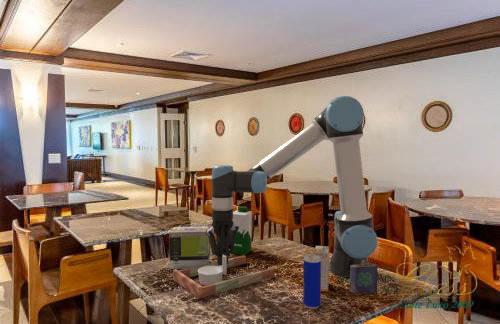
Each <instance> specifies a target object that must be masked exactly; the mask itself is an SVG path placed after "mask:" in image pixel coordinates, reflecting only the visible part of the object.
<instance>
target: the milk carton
mask: <svg viewBox="0 0 500 324" xmlns="http://www.w3.org/2000/svg"><path fill="white" fill-rule="evenodd" d="M252 217H253V212H252V211H250V210H248V207H247V206H243V205H241V206H238V210H235V211H234V210H233V219H232V220H233V223H234V225H236V226H239V229H238V231H237V234H236V239H235V244H234V249H233V252H232V253H231V254H232V255H233V254H235V255H240V256H246V255H248V253H250V252H251V251H252V220H253V219H252Z"/></svg>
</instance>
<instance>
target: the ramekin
mask: <svg viewBox="0 0 500 324" xmlns="http://www.w3.org/2000/svg"><path fill="white" fill-rule="evenodd" d="M222 273H223V269H222V268H221V267H218V266H205V267H202V268H200V269H198V274H199V275H198V282H199V285H201V286H206V285H210V284H214V283H217V282H221V281H223V275H222Z"/></svg>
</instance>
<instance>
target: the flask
mask: <svg viewBox="0 0 500 324" xmlns="http://www.w3.org/2000/svg"><path fill="white" fill-rule="evenodd" d="M378 268H379V266H378V265H377V264H375V263H372V262H371V263H366V262H365V260H364V259H362V262H361V264H359V265H351V266H350V278H349V293H351V294H354V295H355V294H356V295H358V294H369V293H370V294H373V293H374V294H376V293H377V292H378V273H379V272H378V271H379V270H378Z"/></svg>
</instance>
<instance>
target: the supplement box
mask: <svg viewBox="0 0 500 324" xmlns="http://www.w3.org/2000/svg"><path fill="white" fill-rule="evenodd" d="M314 247H315V248H314V255H318V256H320V259H321V292H325V293H326V292H327V293H328V292H329V279H330V276H329V275H330V274H329V273H330V270H329V264H330V252H329V251H330V250H329V246H325V245H324V246H323V245H315V246H314Z"/></svg>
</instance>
